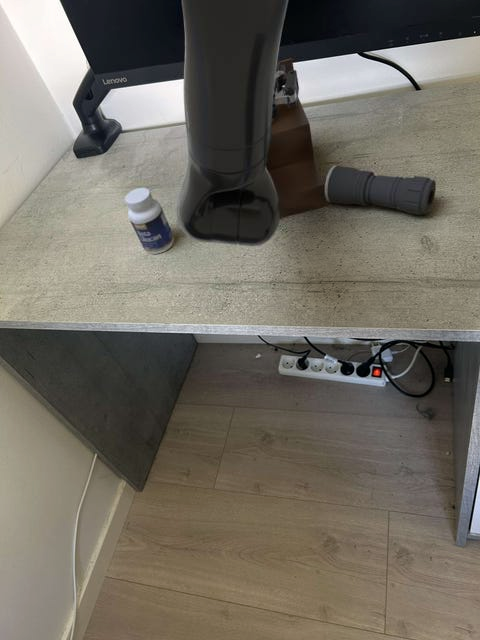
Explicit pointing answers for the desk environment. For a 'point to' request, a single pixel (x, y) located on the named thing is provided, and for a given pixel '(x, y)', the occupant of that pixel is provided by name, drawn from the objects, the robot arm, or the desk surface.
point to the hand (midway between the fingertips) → (249, 75)
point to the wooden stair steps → (294, 160)
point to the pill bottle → (149, 221)
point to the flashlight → (379, 190)
